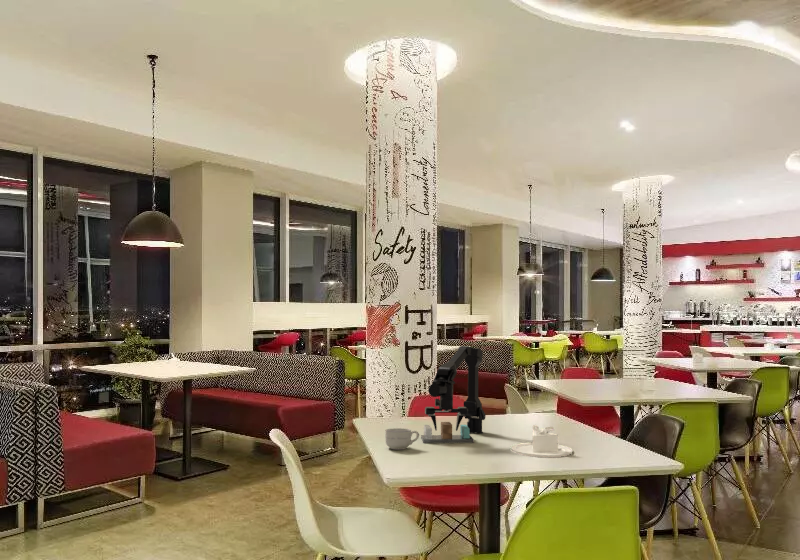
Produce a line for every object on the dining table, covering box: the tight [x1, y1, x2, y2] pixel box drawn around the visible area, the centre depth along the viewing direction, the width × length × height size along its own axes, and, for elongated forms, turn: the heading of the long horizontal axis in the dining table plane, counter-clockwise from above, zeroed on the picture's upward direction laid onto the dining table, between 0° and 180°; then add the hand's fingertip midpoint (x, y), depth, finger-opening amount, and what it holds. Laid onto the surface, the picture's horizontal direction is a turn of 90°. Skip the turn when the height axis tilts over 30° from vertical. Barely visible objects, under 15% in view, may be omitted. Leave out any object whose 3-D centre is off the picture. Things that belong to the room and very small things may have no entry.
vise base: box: [420, 424, 475, 444], centre depth 284 cm, size 22×10×6 cm, turn 93°
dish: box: [509, 424, 573, 458], centre depth 264 cm, size 25×25×11 cm
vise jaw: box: [459, 424, 471, 438], centre depth 285 cm, size 2×10×4 cm, turn 3°
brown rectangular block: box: [440, 421, 453, 439], centre depth 284 cm, size 4×8×6 cm, turn 3°
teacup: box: [385, 427, 420, 451], centre depth 266 cm, size 14×11×8 cm
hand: (446, 430), depth 284 cm, fingers open, 9 cm apart
